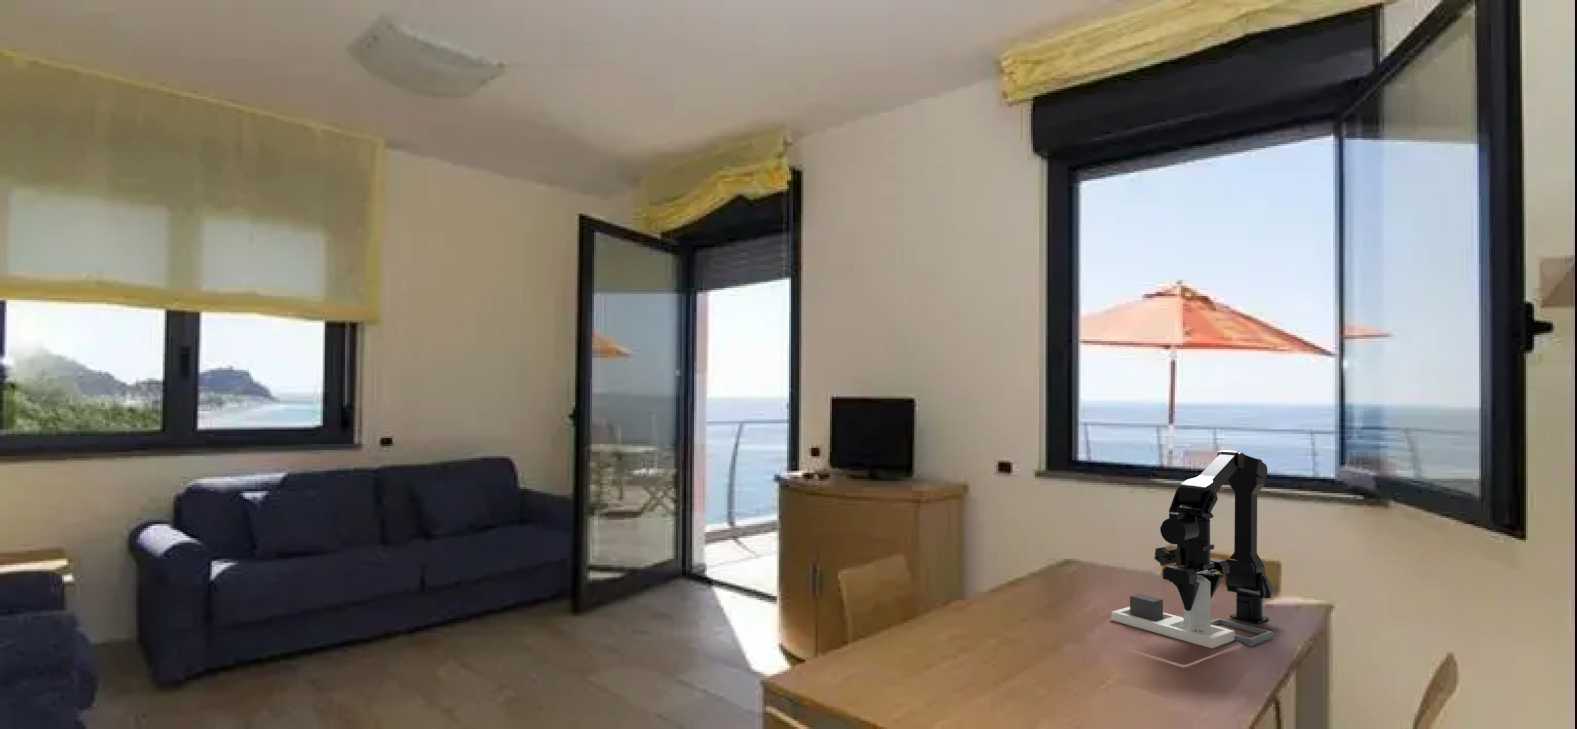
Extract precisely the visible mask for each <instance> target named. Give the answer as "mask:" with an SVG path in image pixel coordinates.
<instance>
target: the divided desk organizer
mask: <svg viewBox="0 0 1577 729" xmlns="http://www.w3.org/2000/svg"><path fill="white" fill-rule="evenodd" d="M1110 614H1111V621H1113V622H1116V623H1120V624H1124V625H1127V626H1131V627H1134V628H1137V629H1141V630H1145V631H1149V632H1151V633H1152V632H1153V633H1156V634H1160V635H1164V636H1166V637H1170V638H1173V639H1178V640H1181V641H1185V642H1188V643H1191V644H1195V645H1199V646H1203V647H1206V648H1210V649H1214V648H1217V647H1219V646H1221V645H1225V644H1227V643H1230V642H1234V641H1236V640H1235V635H1236V632H1235V629H1234V630H1233V629H1229V628H1226V627H1222V626H1218V625H1215V626H1214V625H1211V635H1203V634H1199V633H1195V632H1192V631H1188V630H1187V629H1186V628H1185V627H1184V616H1183V617H1182V616H1178V615H1175V614H1170V613H1167V612H1163V620H1160V621H1157V622H1154V621H1151V620H1147V619H1143V618H1139V617H1136V616H1132V615H1130V606H1126V607H1124V608H1123V607H1122V608H1119V609H1116V610H1113V611H1111V612H1110Z"/></svg>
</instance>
